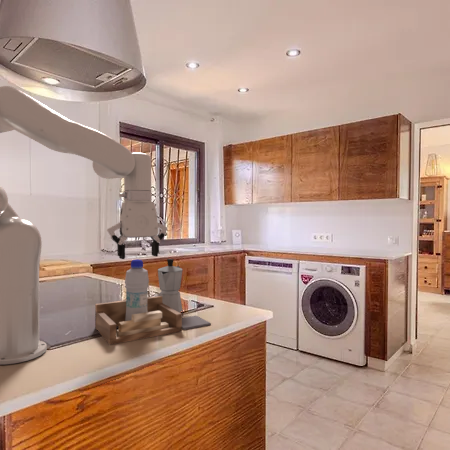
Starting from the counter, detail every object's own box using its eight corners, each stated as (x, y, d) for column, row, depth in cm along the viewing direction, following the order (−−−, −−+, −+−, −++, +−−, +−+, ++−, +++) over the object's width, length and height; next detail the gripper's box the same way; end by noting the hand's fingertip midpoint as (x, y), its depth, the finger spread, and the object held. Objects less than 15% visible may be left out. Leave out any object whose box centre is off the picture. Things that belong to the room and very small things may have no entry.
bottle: (142, 333, 98) (143, 261, 97) (120, 331, 99) (120, 260, 99) (152, 325, 104) (152, 258, 104) (131, 324, 106) (131, 257, 105)
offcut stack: (119, 340, 92) (119, 318, 92) (116, 337, 94) (116, 316, 94) (168, 331, 100) (169, 311, 100) (165, 328, 102) (165, 309, 102)
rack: (109, 344, 89) (109, 317, 89) (95, 328, 102) (95, 303, 101) (181, 331, 100) (181, 306, 100) (160, 317, 113) (160, 295, 112)
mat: (183, 329, 101) (183, 327, 101) (170, 321, 109) (170, 319, 109) (210, 324, 106) (210, 322, 106) (196, 317, 114) (196, 315, 114)
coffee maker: (175, 318, 112) (175, 262, 111) (149, 316, 114) (149, 260, 113) (190, 306, 126) (191, 256, 126) (167, 304, 128) (167, 255, 128)
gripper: (111, 196, 93) (112, 261, 94) (171, 197, 102) (172, 256, 103) (103, 197, 99) (104, 258, 100) (161, 198, 109) (161, 253, 109)
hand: (138, 257), depth 101 cm, fingers open, 9 cm apart
